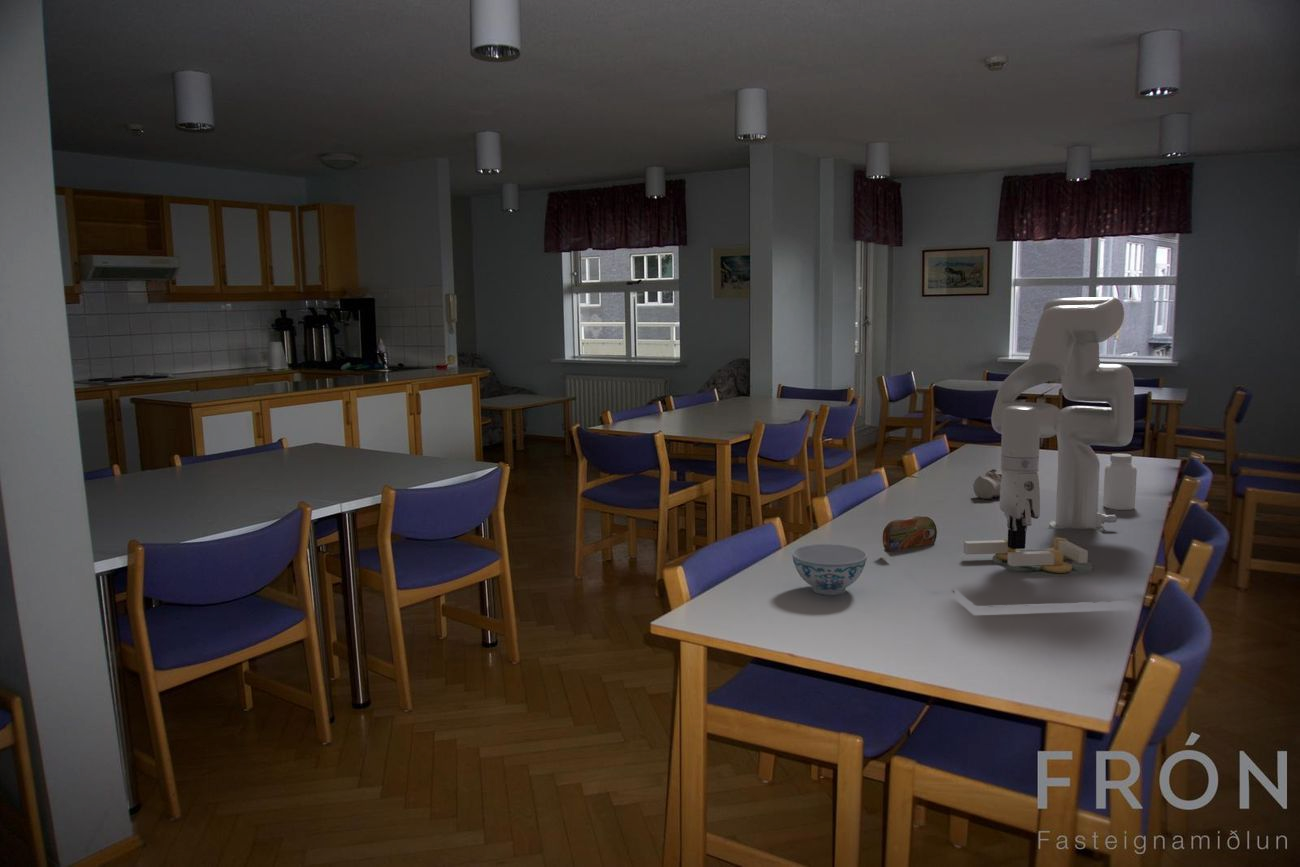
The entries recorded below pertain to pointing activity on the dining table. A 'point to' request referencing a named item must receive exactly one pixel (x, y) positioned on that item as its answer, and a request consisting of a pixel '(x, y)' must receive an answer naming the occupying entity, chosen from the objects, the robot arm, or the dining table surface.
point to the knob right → (1070, 550)
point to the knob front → (1041, 560)
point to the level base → (1036, 569)
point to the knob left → (989, 548)
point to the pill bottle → (1120, 483)
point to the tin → (909, 533)
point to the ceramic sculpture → (988, 485)
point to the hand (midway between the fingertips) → (1016, 547)
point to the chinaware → (829, 566)
